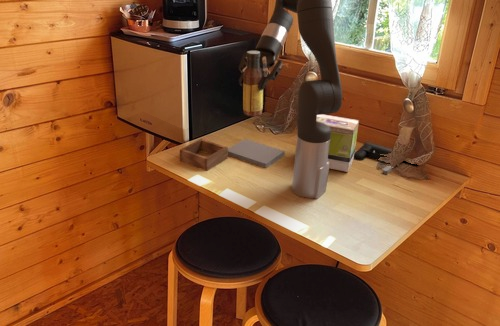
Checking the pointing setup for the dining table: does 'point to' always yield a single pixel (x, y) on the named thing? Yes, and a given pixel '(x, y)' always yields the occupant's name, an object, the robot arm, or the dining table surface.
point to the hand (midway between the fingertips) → (250, 86)
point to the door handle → (373, 153)
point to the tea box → (341, 141)
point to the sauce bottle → (252, 85)
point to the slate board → (255, 153)
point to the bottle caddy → (205, 163)
